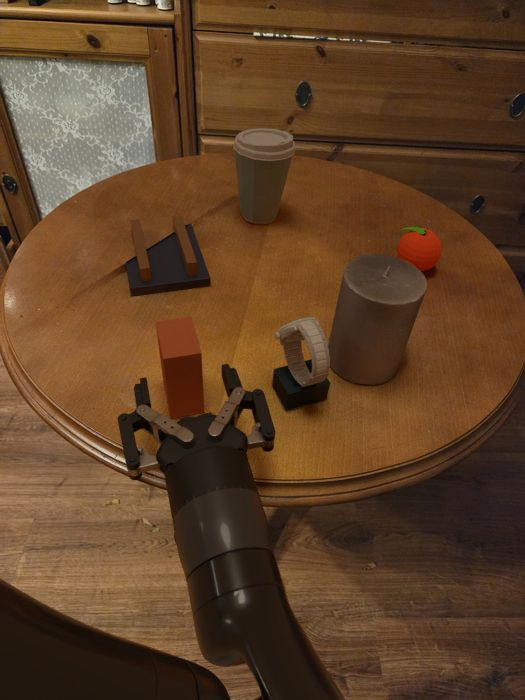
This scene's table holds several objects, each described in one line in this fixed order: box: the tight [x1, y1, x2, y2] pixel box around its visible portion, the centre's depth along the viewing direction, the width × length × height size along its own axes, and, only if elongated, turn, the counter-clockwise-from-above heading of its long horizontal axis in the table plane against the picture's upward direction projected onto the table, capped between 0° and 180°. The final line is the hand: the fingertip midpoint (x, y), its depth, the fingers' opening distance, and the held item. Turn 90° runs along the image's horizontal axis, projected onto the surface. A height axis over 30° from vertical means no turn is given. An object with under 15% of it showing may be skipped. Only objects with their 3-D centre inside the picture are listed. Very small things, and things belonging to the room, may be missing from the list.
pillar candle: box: [327, 253, 428, 386], centre depth 61 cm, size 10×10×15 cm
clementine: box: [396, 226, 443, 272], centre depth 80 cm, size 8×7×7 cm
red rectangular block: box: [155, 316, 205, 420], centre depth 57 cm, size 6×4×10 cm, turn 16°
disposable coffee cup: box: [232, 127, 296, 225], centre depth 87 cm, size 11×11×15 cm
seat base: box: [125, 214, 212, 297], centre depth 79 cm, size 16×12×4 cm
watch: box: [271, 316, 331, 412], centre depth 58 cm, size 6×8×11 cm
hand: (184, 376), depth 52 cm, fingers open, 8 cm apart
